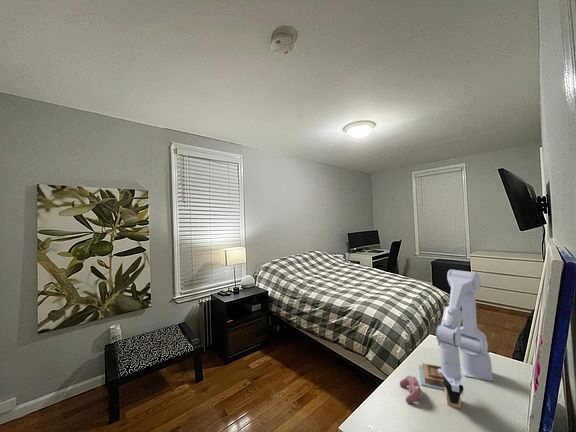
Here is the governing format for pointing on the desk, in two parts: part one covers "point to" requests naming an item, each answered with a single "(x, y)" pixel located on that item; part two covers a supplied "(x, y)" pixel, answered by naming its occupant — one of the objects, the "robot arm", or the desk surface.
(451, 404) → the terracotta block
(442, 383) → the walnut plinth
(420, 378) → the mat
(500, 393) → the desk surface
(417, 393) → the video game controller
